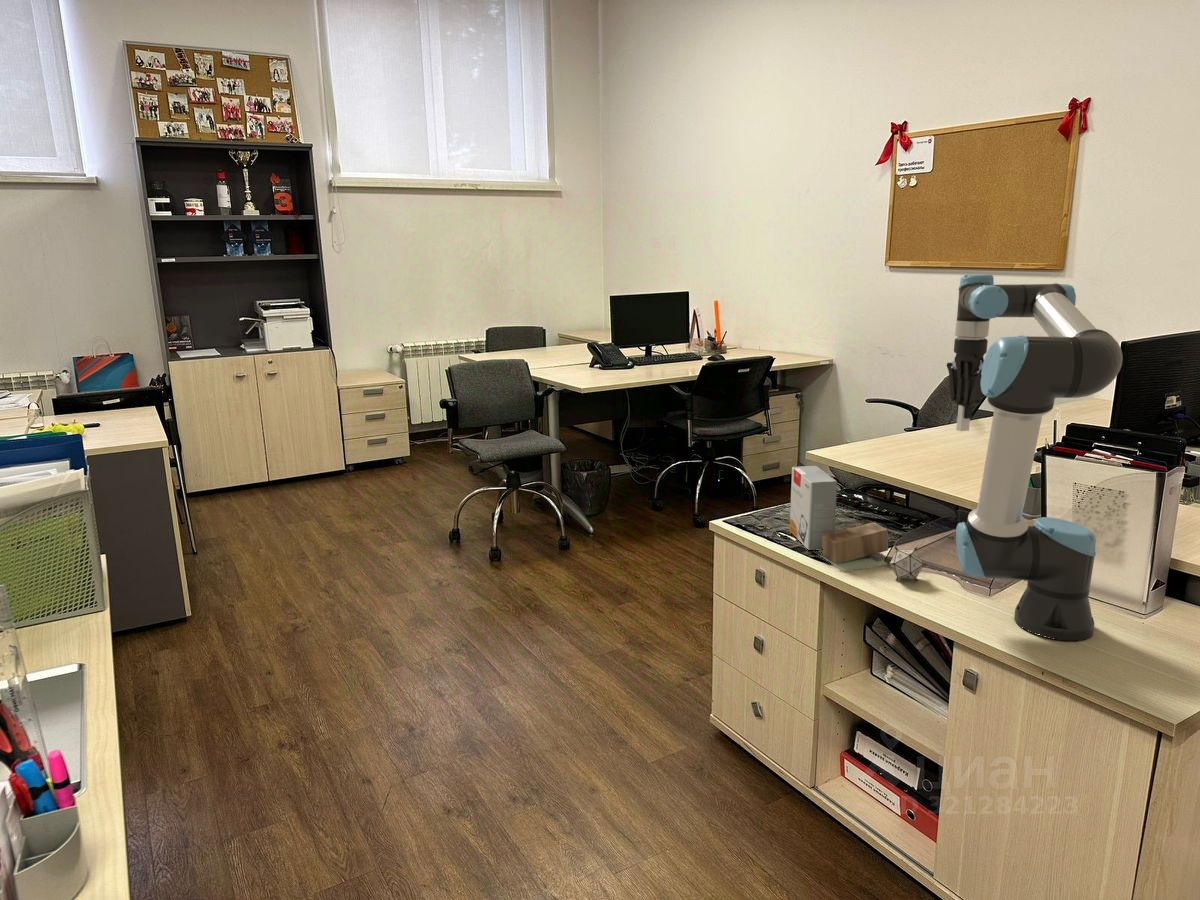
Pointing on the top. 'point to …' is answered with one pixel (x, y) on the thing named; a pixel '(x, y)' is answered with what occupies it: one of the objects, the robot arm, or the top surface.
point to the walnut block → (855, 543)
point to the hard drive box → (812, 505)
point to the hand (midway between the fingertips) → (962, 430)
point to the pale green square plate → (859, 563)
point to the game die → (906, 564)
